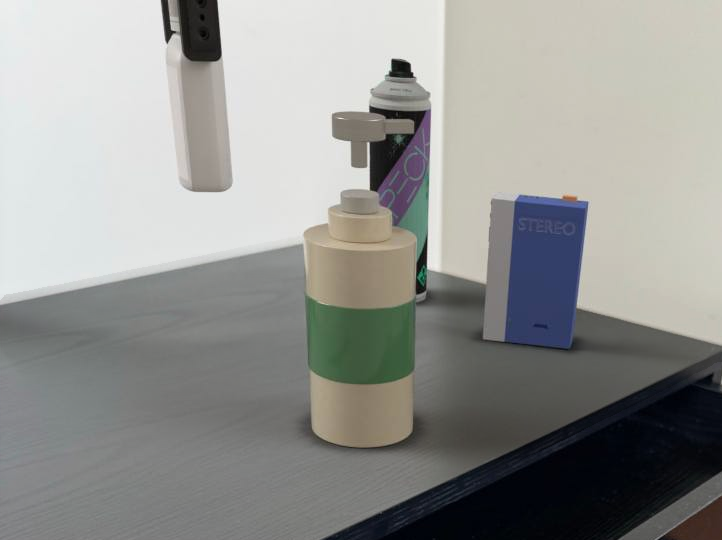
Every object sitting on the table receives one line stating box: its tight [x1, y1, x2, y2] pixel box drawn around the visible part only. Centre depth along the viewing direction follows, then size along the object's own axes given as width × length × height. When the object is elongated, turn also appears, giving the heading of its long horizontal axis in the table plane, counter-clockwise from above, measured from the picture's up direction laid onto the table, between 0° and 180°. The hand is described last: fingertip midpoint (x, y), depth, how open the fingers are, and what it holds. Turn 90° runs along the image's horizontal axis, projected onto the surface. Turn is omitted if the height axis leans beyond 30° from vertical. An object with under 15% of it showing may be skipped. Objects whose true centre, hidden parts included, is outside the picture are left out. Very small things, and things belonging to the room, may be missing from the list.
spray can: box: [368, 58, 432, 303], centre depth 89 cm, size 6×6×20 cm
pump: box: [331, 110, 414, 169], centre depth 59 cm, size 5×3×3 cm, turn 113°
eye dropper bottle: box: [165, 0, 234, 193], centre depth 61 cm, size 4×6×12 cm
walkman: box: [482, 192, 589, 350], centre depth 83 cm, size 8×3×12 cm, turn 79°
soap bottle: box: [302, 188, 417, 449], centre depth 65 cm, size 7×7×16 cm
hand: (193, 53), depth 60 cm, fingers closed on eye dropper bottle, 5 cm apart
